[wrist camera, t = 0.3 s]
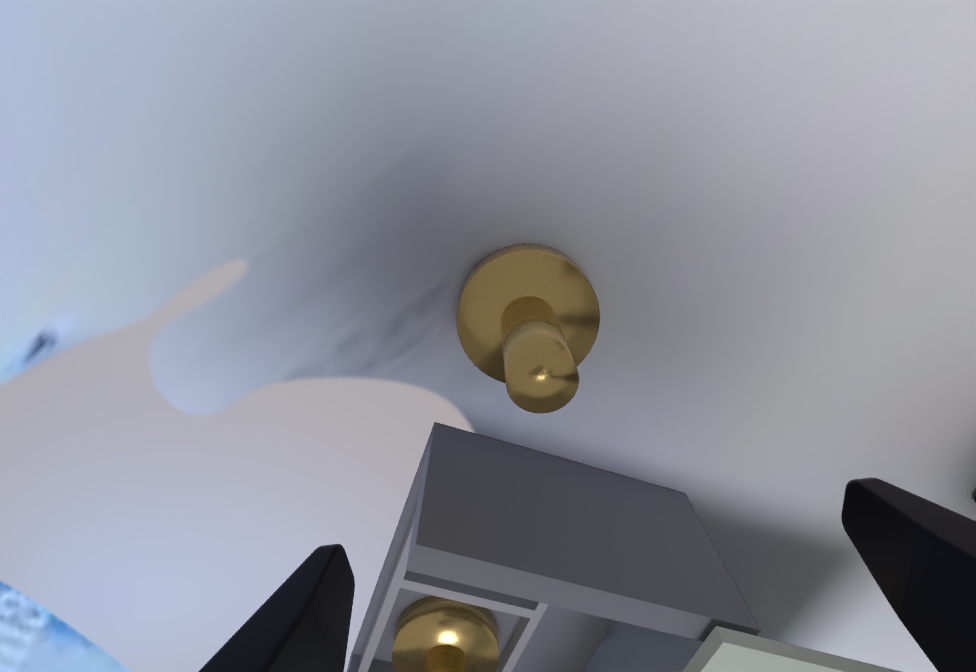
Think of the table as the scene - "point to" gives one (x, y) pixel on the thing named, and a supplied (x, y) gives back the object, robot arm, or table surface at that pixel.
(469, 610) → the brass knob
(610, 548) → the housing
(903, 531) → the robot arm
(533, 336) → the brass door knob
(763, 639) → the lid
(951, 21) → the table surface
